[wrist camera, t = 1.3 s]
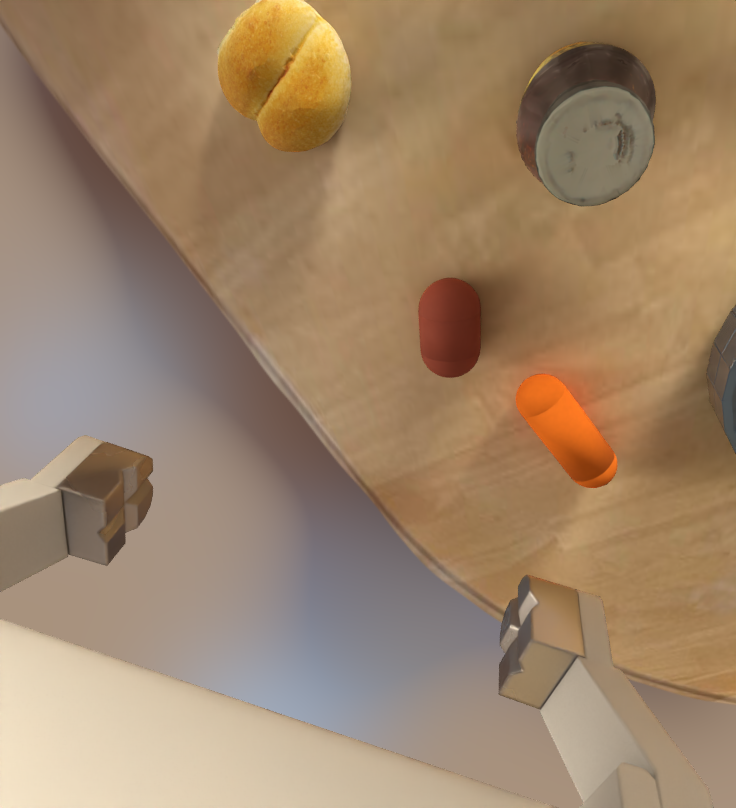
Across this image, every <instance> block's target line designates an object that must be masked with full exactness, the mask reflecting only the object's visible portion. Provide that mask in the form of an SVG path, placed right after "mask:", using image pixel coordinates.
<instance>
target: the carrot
mask: <svg viewBox="0 0 736 808" xmlns="http://www.w3.org/2000/svg"><path fill="white" fill-rule="evenodd" d="M516 404H517V408H518V410H519V412H520V413H521V415H522V416H523V417H524V419H525V420H526V421H527V423H528V424H529V425H530V426H531V428H532V429H533V430H534V431H535V433H536V434H537V435H538V436H539V438H540V439H541V440H542V442H543V443H544V444H545V445H546V447H547V448H548V449H549V450H550V452H551V453H552V454H553V456H554V457H555V458H556V459H557V461H558V462H559V463H560V464H561V466H562V467H563V468H564V469H565V471H566V472H567V473H568V475H569V476H570V477H571V478H572V479H573V480H574V481H575V482H576V483H578V484H579V485H581V486H584V487H588V488H597V487H601V486H604V485H606V484H608V483H609V482H610V481H611V480H612V479H613V477H614V476H615V474H616V471H617V458H616V455H615V453H614V452H613V450H612V449H611V447H610V446H609V445H608V443H607V442H606V441H605V439H604V438H603V437H602V435H601V434H600V433H599V431H598V430H597V429H596V427H595V426H594V424H593V423H592V422H591V420H590V419H589V418H588V416H587V415H586V414H585V412H584V411H583V410H582V408H581V407H580V406H579V404H578V403H577V402H576V400H575V399H574V398H573V396H572V395H571V394H570V392H569V391H568V390H567V388H566V387H565V386H564V384H563V383H562V382H561V381H560V380H559V379H557V378H556V377H553V376H551V375H547V374H537V375H534V376H531V377H529V378H527V379H526V380H525V381H524V382H523V383H522V384H521V385H520V387H519V389H518V391H517V394H516Z"/></svg>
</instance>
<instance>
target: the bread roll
mask: <svg viewBox="0 0 736 808" xmlns="http://www.w3.org/2000/svg"><path fill="white" fill-rule="evenodd" d="M217 54H218V76H219V81H220V85H221V88H222V90H223V93H224V95H225V96H226V98H227V100H228V101H229V103H230V104H231V105H232V107H233V108H235V109H236V110H237V111H238V112H239V113H241V114H242V115H243V116H245V117H247V118H250V119H252V120H256V121H257V122H258V124H259V128H260V131H261V133H262V135H263V137H264V139H265V140H266V141H267V142H268V143H269V144H270V145H271V146H272V147H274V148H276V149H278V150H281V151H287V152H301V151H307V150H310V149H312V148H315V147H317V146H320V145H322V144H324V143H326V142H327V141H328V140H329V139H330V138H332V136H333V135H334V134H335V133H336V132H337V131H338V129H339V128H340V126H341V125H342V123H343V121H344V119H345V116H346V112H347V108H348V104H349V101H350V94H351V71H350V64H349V60H348V57H347V54H346V52H345V49H344V47H343V44H342V41H341V39H340V38H339V36H338V35H337V33H336V31H335V30H334V28H333V27H332V26H331V25H330V24H329V23H328V22H327V21H325V20H324V19H323V18H322V17H321V16H320V15H319V14H318V13H317V12H316V11H315V9H314V8H313V7H311V6H310V5H309V4H308V3H306V2H304V1H302V0H257V1H256V3H255V4H254V5H252V6H251V7H250V8H248V9H247V10H246V11H244V12H243V13H242V14H241V15H240V16H239V17H238V18H237V19H236V21H235V24H234V25H233V26H232V27H231V28H230V30H229V31H228V33H227V34H226V36H225V37H224V39H223V40H222V41H221V43H220V45H219V47H218V49H217Z"/></svg>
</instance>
